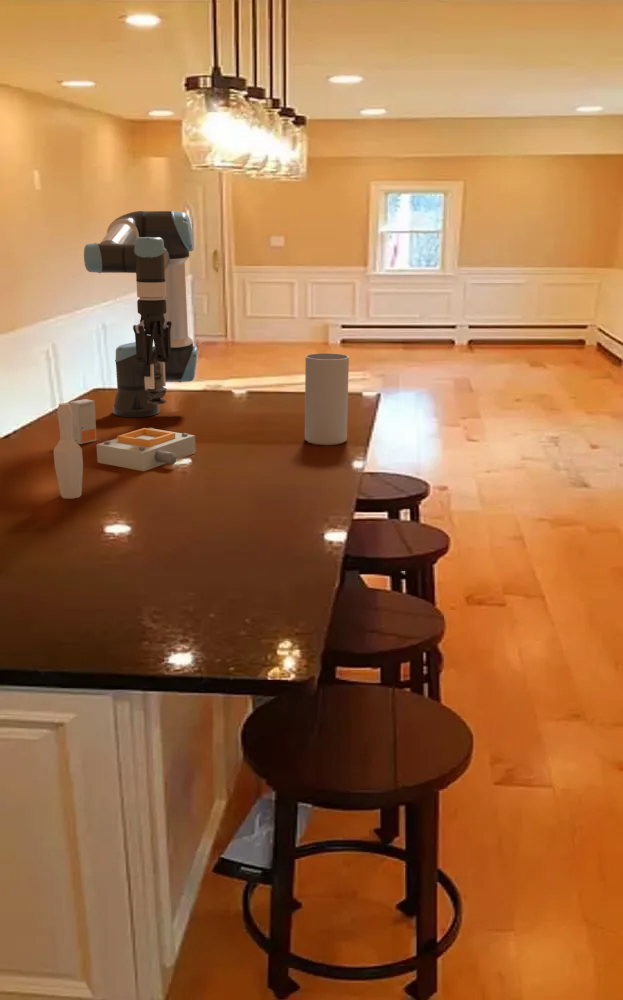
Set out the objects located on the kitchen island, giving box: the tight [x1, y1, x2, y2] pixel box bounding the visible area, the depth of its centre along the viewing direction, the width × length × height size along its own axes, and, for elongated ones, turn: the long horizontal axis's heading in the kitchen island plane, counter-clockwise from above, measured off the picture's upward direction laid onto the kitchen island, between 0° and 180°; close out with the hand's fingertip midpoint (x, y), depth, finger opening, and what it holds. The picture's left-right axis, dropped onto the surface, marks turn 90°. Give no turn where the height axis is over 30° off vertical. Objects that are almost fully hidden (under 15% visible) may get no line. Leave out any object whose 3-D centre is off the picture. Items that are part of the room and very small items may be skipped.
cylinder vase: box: [304, 352, 350, 446], centre depth 257 cm, size 12×12×25 cm
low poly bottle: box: [53, 402, 84, 499], centre depth 203 cm, size 6×6×22 cm
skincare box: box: [68, 398, 97, 445], centre depth 254 cm, size 6×4×12 cm
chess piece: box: [145, 358, 167, 405], centre depth 236 cm, size 6×6×12 cm
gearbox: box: [95, 427, 197, 472], centre depth 238 cm, size 22×21×6 cm
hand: (155, 386), depth 236 cm, fingers closed on chess piece, 4 cm apart
